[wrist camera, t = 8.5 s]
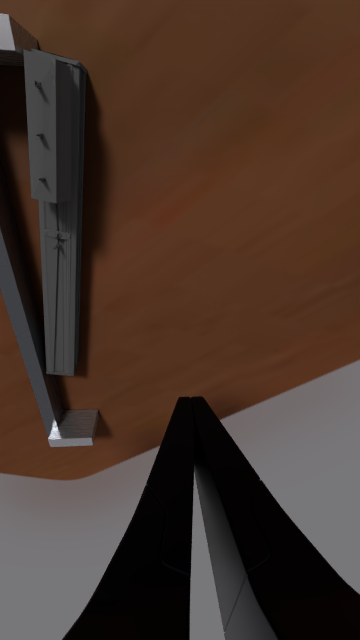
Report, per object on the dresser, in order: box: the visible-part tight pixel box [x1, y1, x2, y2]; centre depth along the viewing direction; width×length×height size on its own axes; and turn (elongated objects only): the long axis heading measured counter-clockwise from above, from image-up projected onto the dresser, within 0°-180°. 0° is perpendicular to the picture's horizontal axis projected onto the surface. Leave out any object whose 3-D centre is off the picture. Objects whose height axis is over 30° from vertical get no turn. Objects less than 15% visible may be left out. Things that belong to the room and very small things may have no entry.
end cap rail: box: [0, 14, 99, 447], centre depth 19 cm, size 4×26×3 cm, turn 178°
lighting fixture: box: [23, 48, 87, 376], centre depth 17 cm, size 19×3×4 cm, turn 169°
